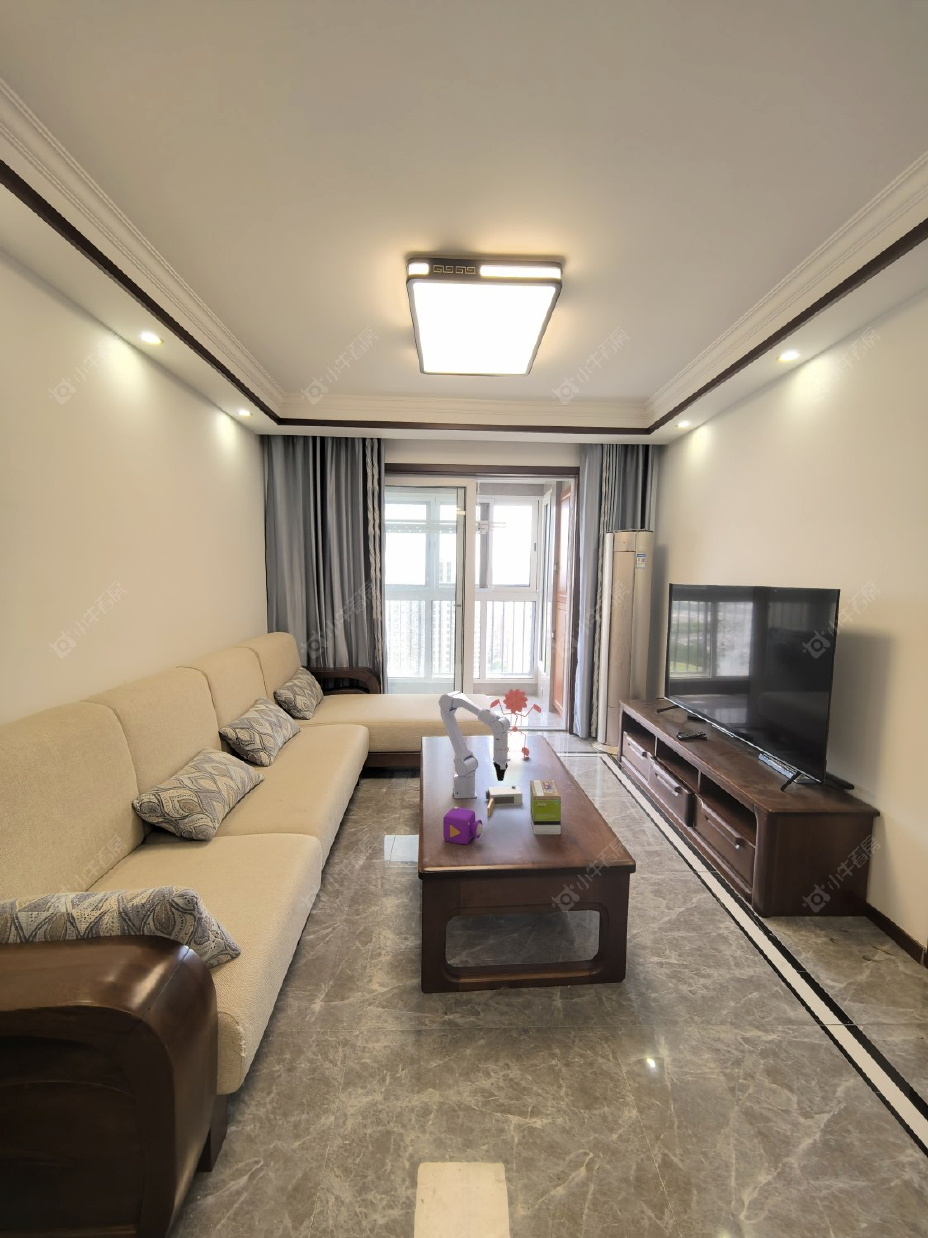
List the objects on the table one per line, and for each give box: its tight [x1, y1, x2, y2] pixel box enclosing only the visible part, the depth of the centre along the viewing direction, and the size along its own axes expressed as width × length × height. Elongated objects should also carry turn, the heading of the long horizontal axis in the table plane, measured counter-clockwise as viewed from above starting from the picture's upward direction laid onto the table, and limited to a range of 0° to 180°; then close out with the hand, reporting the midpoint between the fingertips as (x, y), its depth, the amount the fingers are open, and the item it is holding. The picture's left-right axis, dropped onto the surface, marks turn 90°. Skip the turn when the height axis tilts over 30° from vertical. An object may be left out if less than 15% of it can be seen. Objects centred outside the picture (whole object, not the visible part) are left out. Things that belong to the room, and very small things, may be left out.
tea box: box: [529, 779, 562, 835], centre depth 201 cm, size 15×10×15 cm, turn 178°
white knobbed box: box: [485, 785, 523, 807], centre depth 223 cm, size 14×8×5 cm, turn 96°
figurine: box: [489, 688, 542, 761], centre depth 277 cm, size 15×26×35 cm, turn 86°
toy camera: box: [442, 805, 483, 845], centre depth 191 cm, size 11×14×10 cm
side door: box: [486, 797, 494, 818], centre depth 213 cm, size 10×1×4 cm, turn 168°
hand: (500, 780), depth 220 cm, fingers closed
